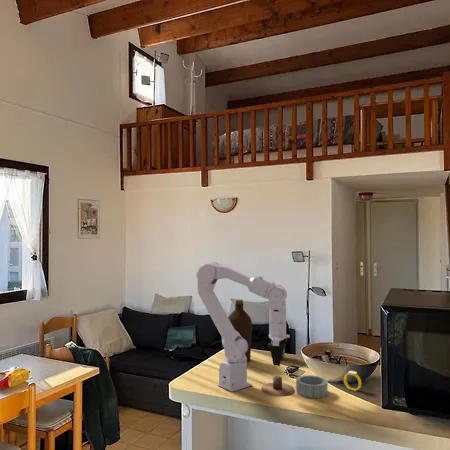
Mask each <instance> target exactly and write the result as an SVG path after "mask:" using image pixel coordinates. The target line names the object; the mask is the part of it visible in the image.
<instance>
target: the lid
mask: <svg viewBox="0 0 450 450" xmlns="http://www.w3.org/2000/svg"><path fill="white" fill-rule="evenodd" d="M260 389H261V392H263V393H264V394H266V395H269V396H273V397H275V396H276V397H286V396H290V395H292V394H293V393H294V392H295V389H294V387H293V386H292V385H290V384H288V383H284V382H283V377H282V376H278V375H277V376H273V377H272V382H267V383H265V384H263V385H261V388H260Z"/></svg>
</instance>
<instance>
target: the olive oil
mask: <svg viewBox="0 0 450 450" xmlns="http://www.w3.org/2000/svg"><path fill="white" fill-rule="evenodd" d="M234 308H235V309H234V310H233V311H232V312H231V313H230V315H228V318H229V320H230V322H231V324H232V326H233V327H234V329H235V330H236V331H237V332H238V333H239V334H240V336H241V337H242V338H243V339H245V340H246V341H247V343H248V350H247V352H246V353H245V355H246V357H247V363H249V362H250V361H251V357H252V356H251V353H252V351H251V350H252V349H251V348H252V332H253V331H252V330H253V321H252V317H251V316H250V315H249V314H248V313H247V312H246V311H245V310H244V300H243V299H235V303H234Z"/></svg>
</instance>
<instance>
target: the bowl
mask: <svg viewBox="0 0 450 450" xmlns="http://www.w3.org/2000/svg"><path fill="white" fill-rule="evenodd" d="M295 382H296V383H295V384H296V385H295V386H296V387H295V391H296V393H297V394H298V395H300V396H301V397H304V398H308V399H309V398H310V399H322V398H325V397H327V395H328V391H329V389H328V384H329V383H328V380H327V379H326V378H325V377H322V376H319V375H312V374H311V375H310V374H309V375H305V374H304V375H300V376H297V378H296V380H295Z"/></svg>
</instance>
